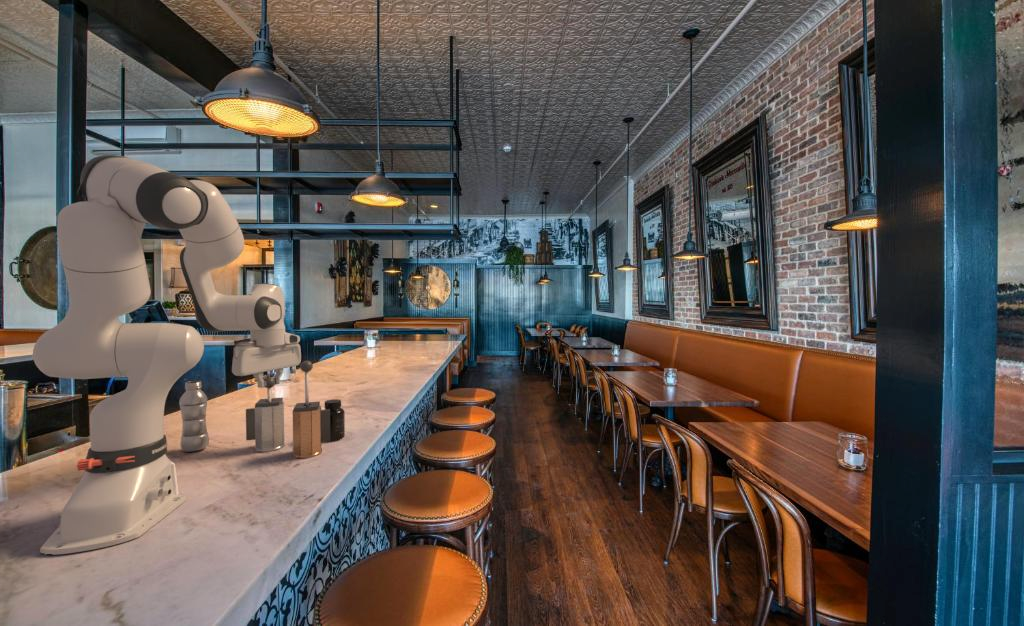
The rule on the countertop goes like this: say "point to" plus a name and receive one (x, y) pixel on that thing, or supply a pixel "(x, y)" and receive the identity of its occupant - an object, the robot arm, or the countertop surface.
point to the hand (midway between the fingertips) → (269, 385)
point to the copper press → (310, 429)
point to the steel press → (266, 424)
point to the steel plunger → (269, 386)
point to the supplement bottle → (336, 419)
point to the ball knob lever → (306, 378)
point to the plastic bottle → (193, 418)
